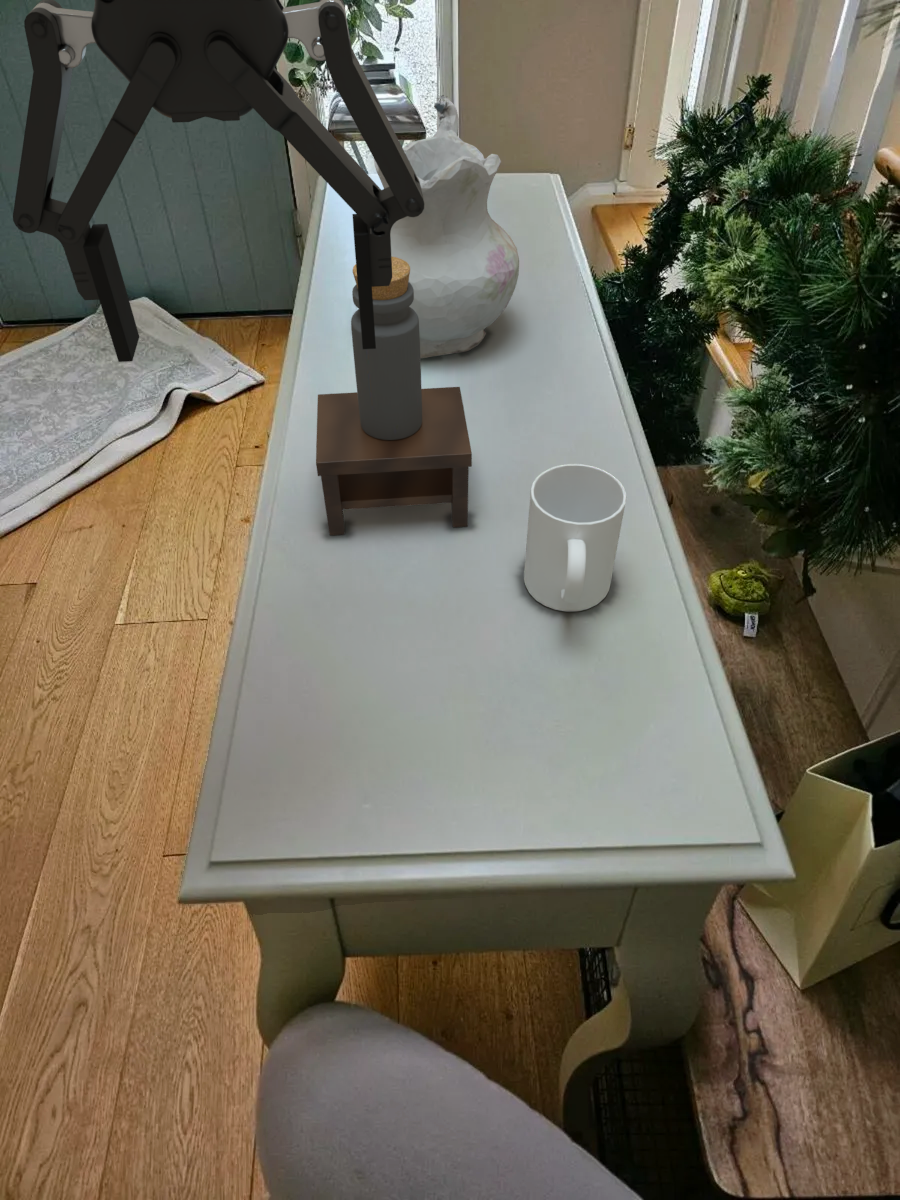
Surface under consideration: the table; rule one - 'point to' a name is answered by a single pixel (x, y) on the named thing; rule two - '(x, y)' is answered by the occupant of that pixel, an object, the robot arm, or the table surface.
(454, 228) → the ceramic pitcher
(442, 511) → the table surface
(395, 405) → the bottle
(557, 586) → the mug
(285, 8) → the robot arm
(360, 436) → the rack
